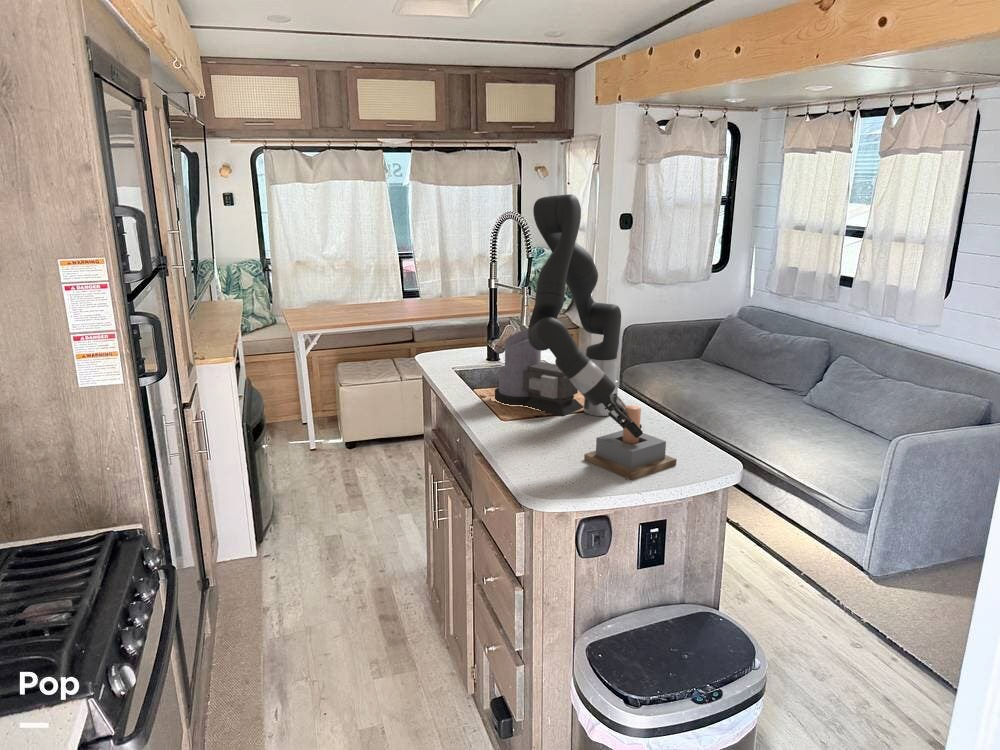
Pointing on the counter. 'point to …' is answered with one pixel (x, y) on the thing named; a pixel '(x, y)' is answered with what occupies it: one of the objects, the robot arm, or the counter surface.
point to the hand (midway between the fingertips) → (639, 432)
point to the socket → (630, 450)
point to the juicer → (533, 380)
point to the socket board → (626, 471)
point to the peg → (635, 415)
